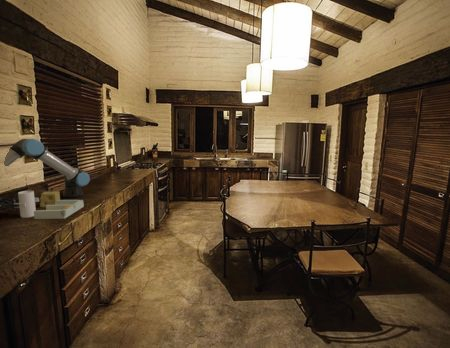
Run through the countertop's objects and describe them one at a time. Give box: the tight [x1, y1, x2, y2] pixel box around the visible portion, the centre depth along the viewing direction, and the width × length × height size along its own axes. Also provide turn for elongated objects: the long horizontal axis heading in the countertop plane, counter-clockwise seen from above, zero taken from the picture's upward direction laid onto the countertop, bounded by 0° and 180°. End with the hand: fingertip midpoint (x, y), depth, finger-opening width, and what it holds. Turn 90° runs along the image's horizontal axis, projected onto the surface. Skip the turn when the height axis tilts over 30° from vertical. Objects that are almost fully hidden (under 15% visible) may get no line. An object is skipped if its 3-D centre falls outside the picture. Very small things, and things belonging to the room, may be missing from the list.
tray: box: [33, 199, 85, 220], centre depth 177 cm, size 18×28×6 cm, turn 6°
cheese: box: [39, 190, 61, 208], centre depth 194 cm, size 10×11×10 cm
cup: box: [17, 190, 36, 219], centre depth 169 cm, size 8×8×16 cm
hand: (32, 202), depth 169 cm, fingers open, 13 cm apart
